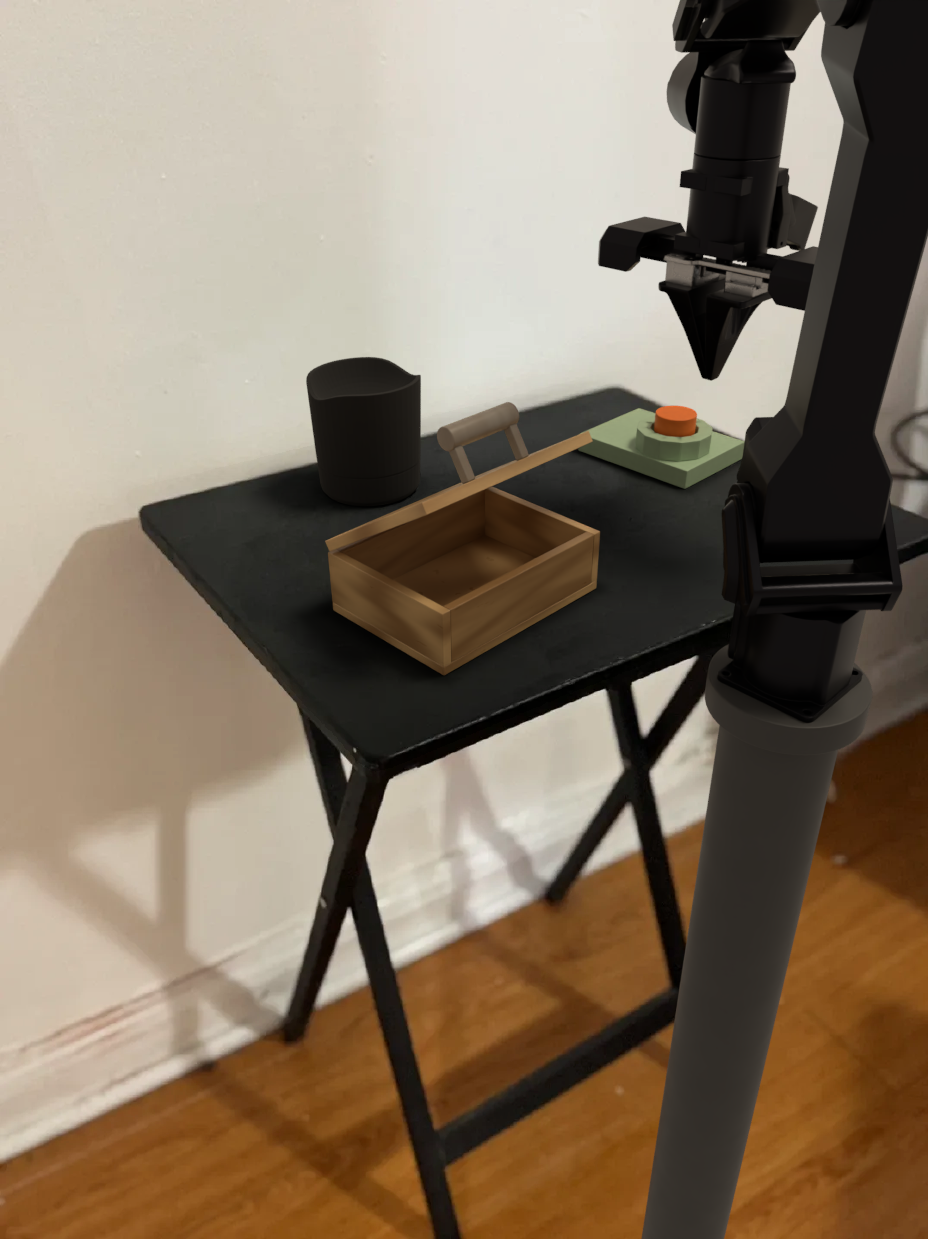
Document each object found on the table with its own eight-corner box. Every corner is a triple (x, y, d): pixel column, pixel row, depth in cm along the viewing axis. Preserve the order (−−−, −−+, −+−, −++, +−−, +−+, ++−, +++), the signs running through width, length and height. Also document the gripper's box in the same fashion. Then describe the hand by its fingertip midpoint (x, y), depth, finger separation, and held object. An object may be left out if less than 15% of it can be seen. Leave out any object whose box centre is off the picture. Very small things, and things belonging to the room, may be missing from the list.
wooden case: (596, 588, 76) (600, 531, 74) (443, 676, 67) (442, 614, 64) (485, 537, 83) (485, 483, 80) (332, 610, 74) (327, 552, 71)
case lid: (593, 441, 71) (568, 377, 70) (426, 515, 62) (396, 442, 61) (486, 482, 80) (464, 426, 80) (329, 551, 71) (302, 489, 71)
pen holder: (429, 465, 95) (426, 357, 89) (418, 511, 87) (414, 396, 82) (327, 463, 95) (317, 356, 90) (307, 509, 88) (295, 395, 82)
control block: (742, 458, 95) (748, 422, 93) (685, 489, 90) (689, 451, 88) (637, 424, 103) (640, 390, 101) (578, 450, 97) (579, 415, 95)
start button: (703, 431, 93) (705, 412, 92) (679, 442, 91) (681, 423, 90) (669, 420, 95) (671, 402, 94) (645, 431, 93) (647, 412, 92)
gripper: (925, 154, 69) (878, 381, 78) (691, 128, 80) (671, 329, 89) (842, 176, 63) (799, 422, 71) (599, 145, 74) (587, 360, 82)
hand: (710, 378), depth 78 cm, fingers closed
